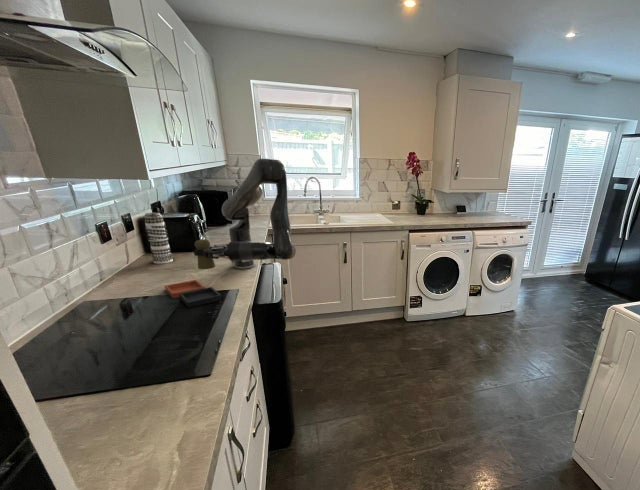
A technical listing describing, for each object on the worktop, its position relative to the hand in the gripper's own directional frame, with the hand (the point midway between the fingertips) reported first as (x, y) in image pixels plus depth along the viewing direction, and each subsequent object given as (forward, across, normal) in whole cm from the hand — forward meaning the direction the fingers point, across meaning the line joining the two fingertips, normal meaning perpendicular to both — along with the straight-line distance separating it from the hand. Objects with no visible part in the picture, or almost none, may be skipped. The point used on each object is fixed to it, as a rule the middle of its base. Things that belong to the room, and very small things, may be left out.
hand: (197, 251), depth 126 cm
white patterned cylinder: (+39, -45, +18) cm, 62 cm away
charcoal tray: (-1, +6, +18) cm, 19 cm away
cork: (-2, 0, +7) cm, 7 cm away
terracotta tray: (+9, -2, +18) cm, 20 cm away
